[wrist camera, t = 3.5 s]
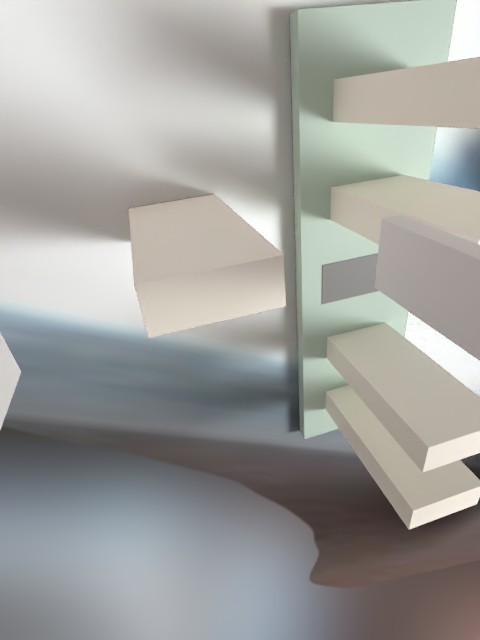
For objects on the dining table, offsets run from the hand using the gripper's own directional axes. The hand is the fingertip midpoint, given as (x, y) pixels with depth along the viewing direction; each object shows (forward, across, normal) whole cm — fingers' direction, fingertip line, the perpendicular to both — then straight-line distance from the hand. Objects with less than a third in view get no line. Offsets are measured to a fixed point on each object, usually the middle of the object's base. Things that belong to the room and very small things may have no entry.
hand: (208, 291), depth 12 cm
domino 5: (+10, -12, +17) cm, 23 cm away
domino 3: (+10, -12, +1) cm, 16 cm away
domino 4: (+10, -12, +12) cm, 20 cm away
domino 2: (+10, -12, -5) cm, 16 cm away
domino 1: (+11, 0, 0) cm, 11 cm away
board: (+11, -12, +6) cm, 17 cm away
